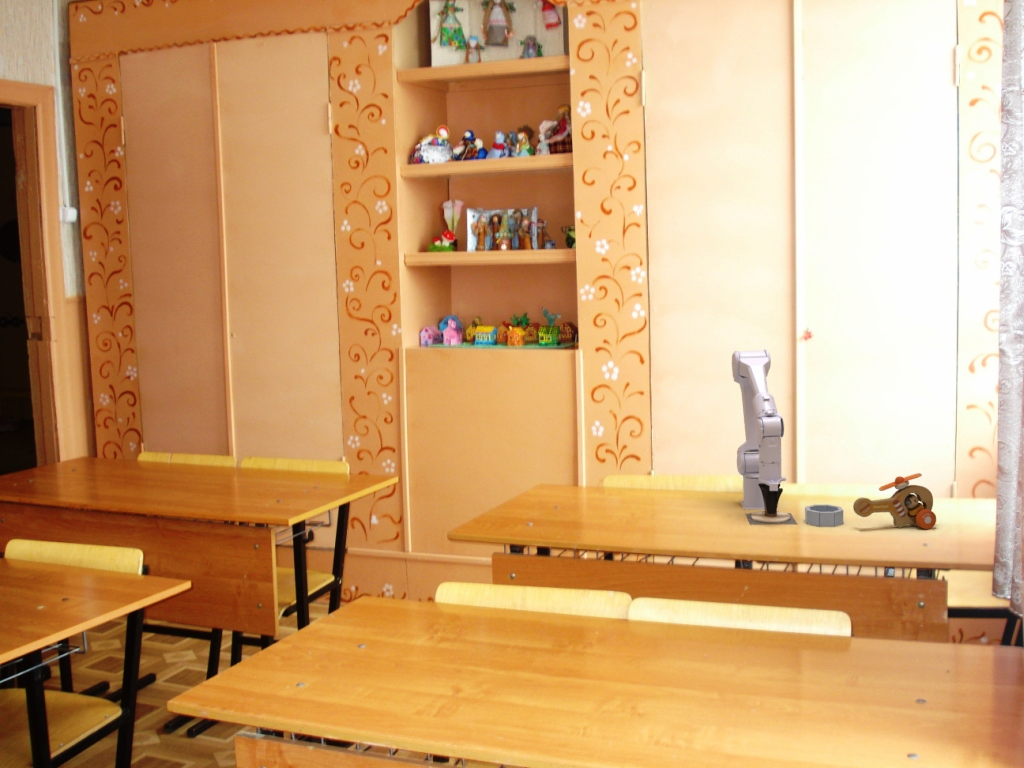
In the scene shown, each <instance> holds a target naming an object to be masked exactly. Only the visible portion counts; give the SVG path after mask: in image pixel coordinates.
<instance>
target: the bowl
mask: <svg viewBox="0 0 1024 768" xmlns="http://www.w3.org/2000/svg"><path fill="white" fill-rule="evenodd" d="M804 521H805V523H806V524H807V525H809V526H814V527H819V528H820V527H821V528H824V527H825V528H827V527H829V528H831V527H833V528H834V527H839V526H842V525H844V509H843V508H842V507H841V506H838V505H835V504H834V505H833V504H812V505H806V506H804Z"/></svg>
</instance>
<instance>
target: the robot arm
mask: <svg viewBox="0 0 1024 768" xmlns="http://www.w3.org/2000/svg"><path fill="white" fill-rule="evenodd" d="M771 362H772V361H771V354H770V352H769V350H768V349H764V350H743V351H740V350H739V351H738V350H735V351H733V352H732V355H731V371H732V377H733V381H734V383H737V384H738V385H739V388H740V393H741V401H742V402H741V403H742V410H743V412H742V413H743V422H744V423H743V424H744V430H745V431H744V432H745V433H744V434H745V442H743V443H742V444H740V446H739V447H738V448H737V450H736V468H737V472H738V474H739V475H741V476H743V477H742V479H743V480H742V486H743V487H742V488H743V494H742V495H743V496H742V497H743V500H740V501H739V502H740V504H741V507H742V509H743V510H764V499H765V504H766V510H767V513H768V514H776V511H778V505H779V501H780V498H781V495H782V493H783V491H784V489H783V488H782V487H781V483H782V482H786V481H787V477H786V476H782V438H783V437H784V435H785V423H784V417H783V416H782V415H781V413H780V412H778V410H777V409H778V408H777V404H776V402H775V398H774V396H773V395H772V394H771V393H769V389H768V382H767V377H768V375H769V371H770V368H771ZM780 487H781V488H780Z"/></svg>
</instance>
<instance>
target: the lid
mask: <svg viewBox="0 0 1024 768" xmlns="http://www.w3.org/2000/svg"><path fill="white" fill-rule="evenodd" d="M752 513H753V514H751V518H752V519H753V520H755V521H758V522H764V523H781V522H787V521H789V520H790V515H789V514H787V513H788V512H784V511H783V512H782V511H779V510H777V511H776V514H768V513H767V510H766V504H765V499H764V509H763V511H762V510H759V511H756V512H752Z"/></svg>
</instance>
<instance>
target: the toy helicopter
mask: <svg viewBox="0 0 1024 768" xmlns="http://www.w3.org/2000/svg"><path fill="white" fill-rule="evenodd" d="M922 475H923V474H922V473H915V474H913V473H912V474H911V475H907V476H905V477H903V476H897V477H895V479H894V481H892V482H889V483H887V484H884V485H882V486H880V487H878V491H881V492H884V491H886V490H889V489H892V488H895V489H896V491H895V492H894V493H893V494H892V496H890V497H889V498H880V499H873V500H871V499H870V498H867V497H858V498H857V499H856V500H855V501H854V502H853V504H852V505H853V511H854V514H856V515H857V516H859V517H861V518H867V517H869V516H871V515H872V514H874V513H876V514H877V513H889V515H890V516H891V517H892V519H893V520H892V521H893V525H894V526H895V527H897V528H899V529H901V528H903V527H904V526H907V525H912V526H913V525H917V526H918V527H920V528H921V529H924V530H930V529H932V528H933V527H935V525H936V522H937V516H936V513H935V512H934V511H932V510H933V506H934V497H933V493H932V492H931V491H930V489H928V488H927V487H925V486H922V485H918V484H910V482H909V481H912V480H915V479H919V478H921V477H922Z"/></svg>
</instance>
